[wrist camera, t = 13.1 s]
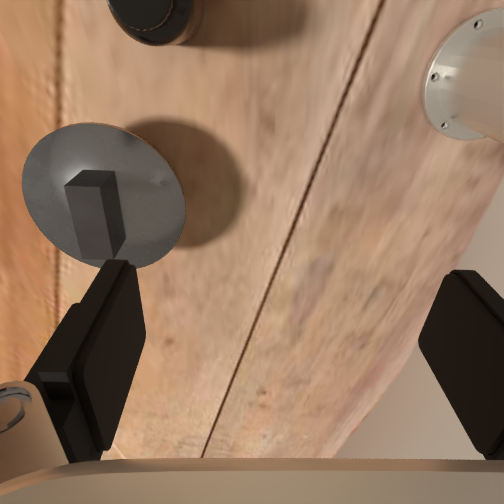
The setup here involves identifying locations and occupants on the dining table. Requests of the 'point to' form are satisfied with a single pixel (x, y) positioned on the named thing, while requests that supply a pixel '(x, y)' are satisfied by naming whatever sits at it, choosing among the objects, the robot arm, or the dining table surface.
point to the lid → (103, 195)
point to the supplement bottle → (158, 19)
